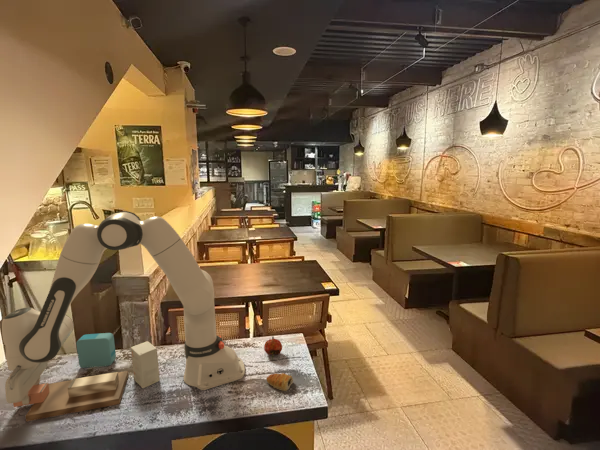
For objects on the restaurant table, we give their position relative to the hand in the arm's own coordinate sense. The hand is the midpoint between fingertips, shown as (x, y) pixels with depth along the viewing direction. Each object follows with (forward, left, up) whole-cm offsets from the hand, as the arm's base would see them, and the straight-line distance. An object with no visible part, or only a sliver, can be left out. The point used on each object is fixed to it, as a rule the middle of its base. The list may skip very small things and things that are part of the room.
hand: (31, 396), depth 111 cm
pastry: (-81, +14, -4) cm, 82 cm away
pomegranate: (-82, -5, -4) cm, 83 cm away
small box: (-34, -3, -4) cm, 35 cm away
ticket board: (-14, 0, -3) cm, 15 cm away
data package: (-14, -20, -4) cm, 25 cm away
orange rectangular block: (0, 0, -1) cm, 1 cm away
